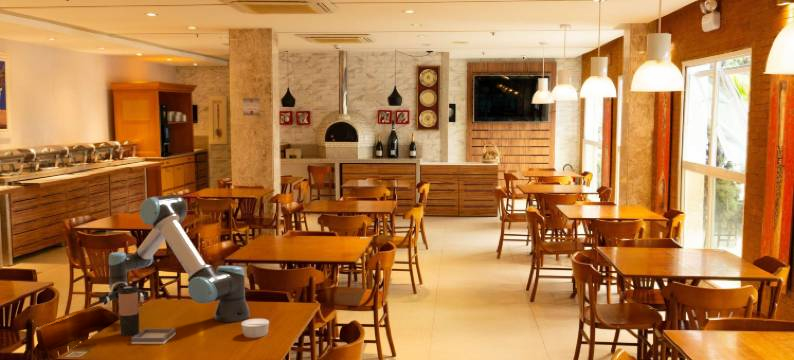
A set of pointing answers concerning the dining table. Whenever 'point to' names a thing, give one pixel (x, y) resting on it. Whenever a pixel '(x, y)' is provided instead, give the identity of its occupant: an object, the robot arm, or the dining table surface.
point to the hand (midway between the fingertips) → (126, 301)
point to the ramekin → (255, 327)
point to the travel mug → (128, 310)
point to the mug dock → (153, 336)
